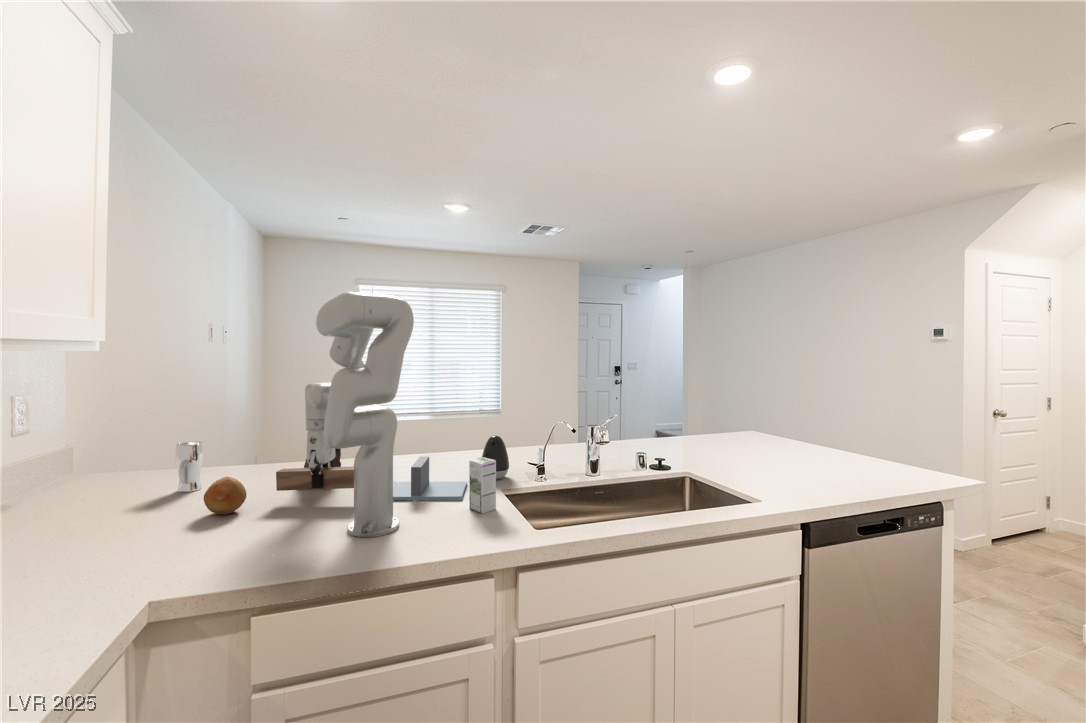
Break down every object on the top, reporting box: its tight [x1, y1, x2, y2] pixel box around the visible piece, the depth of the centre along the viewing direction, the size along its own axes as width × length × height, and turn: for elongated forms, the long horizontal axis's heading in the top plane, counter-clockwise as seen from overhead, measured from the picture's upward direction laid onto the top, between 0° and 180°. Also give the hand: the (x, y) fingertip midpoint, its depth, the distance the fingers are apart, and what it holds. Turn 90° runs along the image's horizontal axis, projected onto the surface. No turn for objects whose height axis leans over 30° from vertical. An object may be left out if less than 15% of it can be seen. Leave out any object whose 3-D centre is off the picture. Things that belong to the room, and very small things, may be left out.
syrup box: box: [468, 456, 497, 514], centre depth 139 cm, size 6×6×14 cm
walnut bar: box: [275, 466, 354, 492], centre depth 143 cm, size 4×24×6 cm, turn 93°
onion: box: [203, 476, 247, 516], centre depth 134 cm, size 10×10×10 cm
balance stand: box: [393, 456, 468, 501], centre depth 154 cm, size 16×28×10 cm, turn 93°
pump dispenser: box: [481, 435, 510, 480], centre depth 172 cm, size 10×10×15 cm
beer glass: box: [175, 440, 204, 493], centre depth 154 cm, size 7×7×15 cm
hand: (321, 485), depth 143 cm, fingers closed on walnut bar, 4 cm apart
